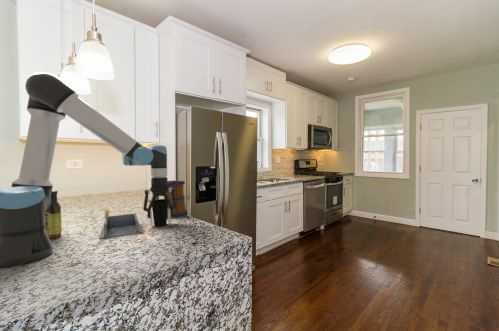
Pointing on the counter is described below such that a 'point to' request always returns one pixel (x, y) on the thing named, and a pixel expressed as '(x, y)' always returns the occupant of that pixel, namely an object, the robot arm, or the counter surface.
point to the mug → (176, 198)
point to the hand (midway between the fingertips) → (160, 223)
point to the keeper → (120, 225)
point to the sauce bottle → (53, 217)
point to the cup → (160, 212)
